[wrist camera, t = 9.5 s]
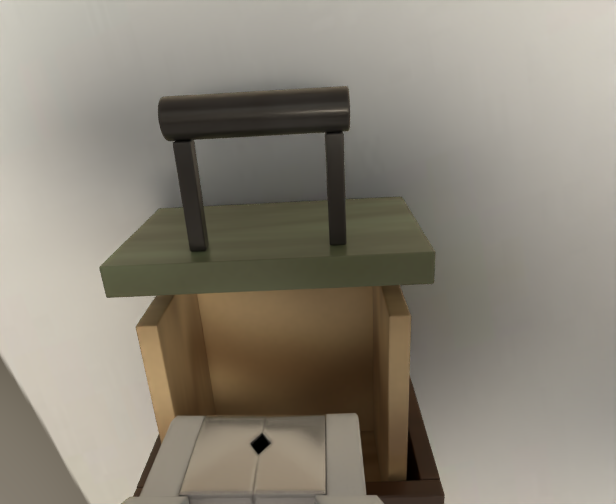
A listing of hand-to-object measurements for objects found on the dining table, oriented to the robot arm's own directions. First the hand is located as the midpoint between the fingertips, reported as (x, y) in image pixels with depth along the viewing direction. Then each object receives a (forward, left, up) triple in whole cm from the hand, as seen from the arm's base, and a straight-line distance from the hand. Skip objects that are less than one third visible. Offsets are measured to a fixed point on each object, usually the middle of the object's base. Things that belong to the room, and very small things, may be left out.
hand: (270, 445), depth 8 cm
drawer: (+4, +1, -15) cm, 16 cm away
